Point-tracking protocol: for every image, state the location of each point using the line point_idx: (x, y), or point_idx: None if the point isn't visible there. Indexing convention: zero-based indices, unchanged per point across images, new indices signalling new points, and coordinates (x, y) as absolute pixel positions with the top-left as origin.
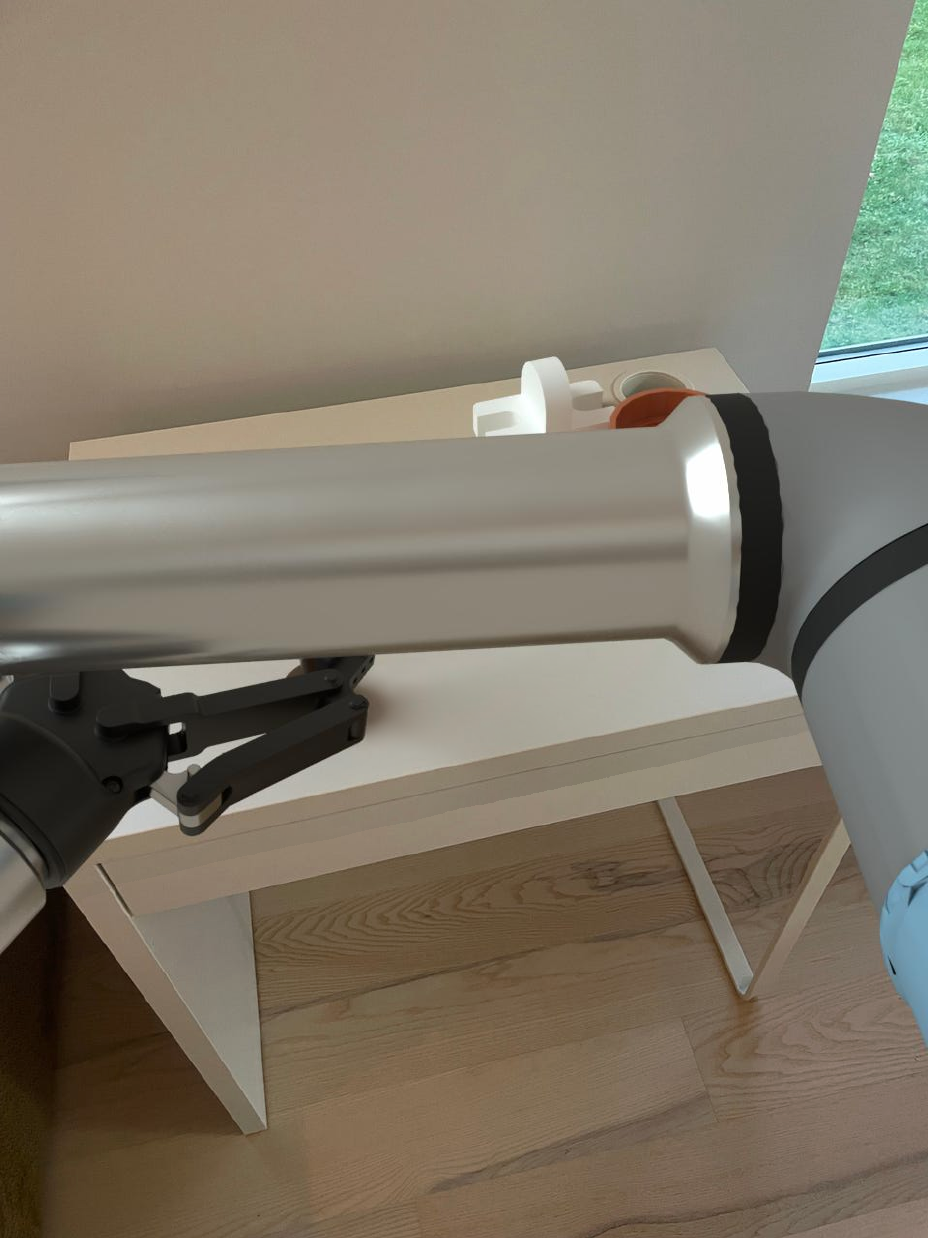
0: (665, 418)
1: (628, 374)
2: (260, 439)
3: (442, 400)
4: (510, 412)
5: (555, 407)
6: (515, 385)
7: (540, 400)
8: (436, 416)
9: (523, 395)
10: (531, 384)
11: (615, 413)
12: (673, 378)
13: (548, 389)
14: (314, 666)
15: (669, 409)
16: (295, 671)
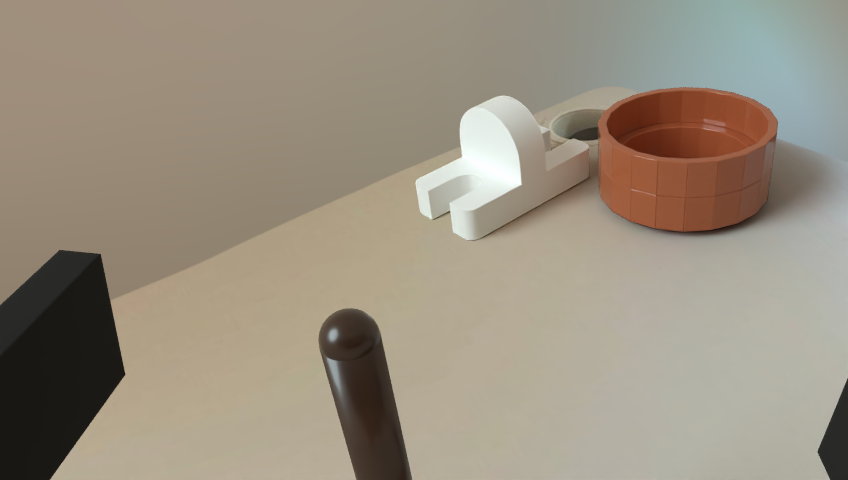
0: (643, 130)
1: (550, 119)
2: (153, 302)
3: (365, 196)
4: (463, 177)
5: (527, 146)
6: (438, 160)
7: (504, 145)
8: (368, 213)
9: (467, 156)
10: (481, 134)
11: (604, 129)
12: (598, 110)
13: (513, 127)
14: None
15: (644, 119)
16: None
